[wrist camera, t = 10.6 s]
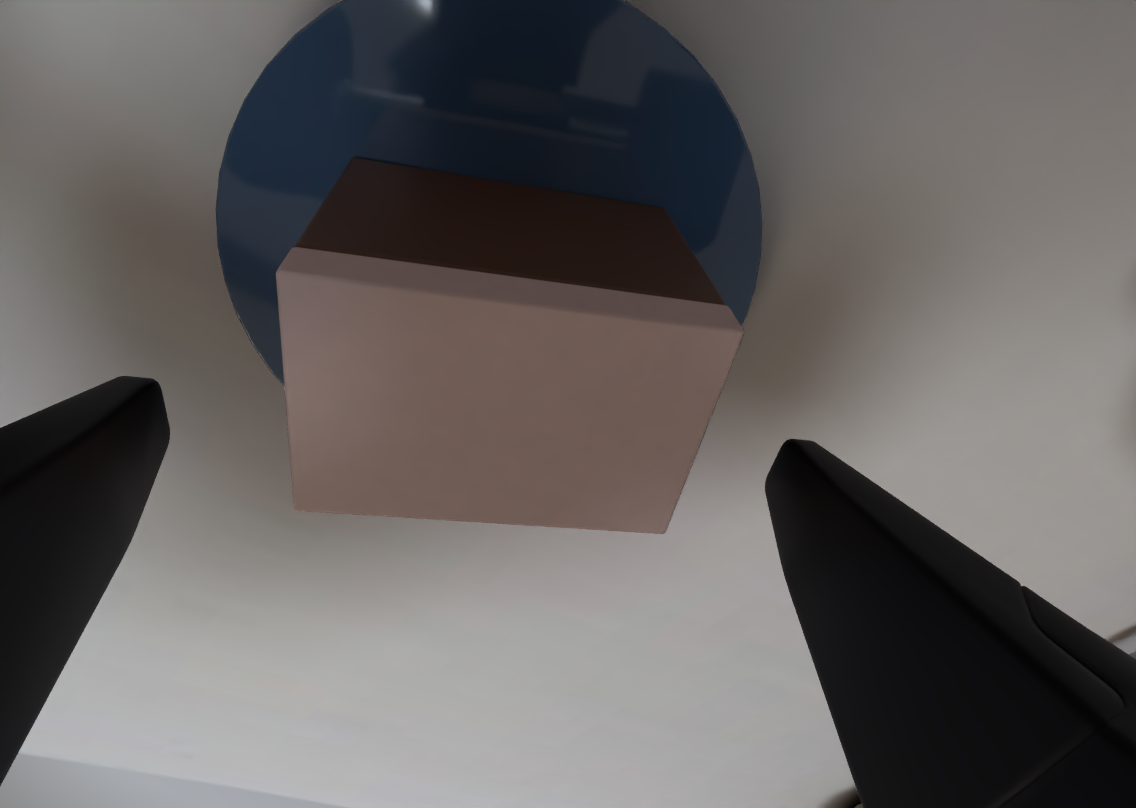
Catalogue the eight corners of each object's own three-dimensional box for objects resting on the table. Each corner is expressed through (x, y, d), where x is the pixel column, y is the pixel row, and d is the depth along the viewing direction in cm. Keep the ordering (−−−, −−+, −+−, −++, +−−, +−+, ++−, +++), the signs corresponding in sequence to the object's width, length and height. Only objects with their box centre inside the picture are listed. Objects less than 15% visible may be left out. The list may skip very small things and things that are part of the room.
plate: (834, 34, 12) (854, 40, 11) (670, 475, 18) (677, 494, 17) (190, -111, 10) (169, -116, 9) (254, 441, 16) (245, 462, 15)
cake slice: (666, 206, 13) (746, 331, 9) (619, 374, 15) (665, 535, 11) (351, 155, 12) (273, 270, 7) (352, 345, 14) (293, 512, 10)
